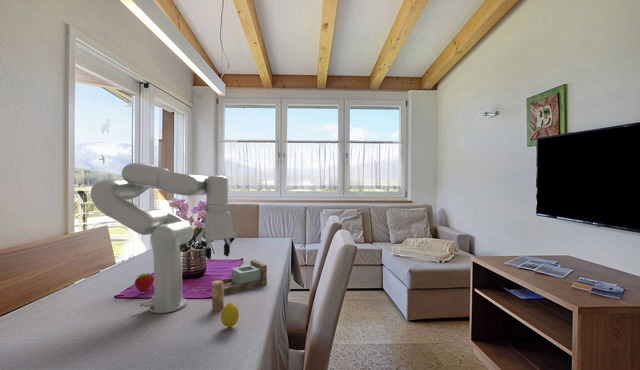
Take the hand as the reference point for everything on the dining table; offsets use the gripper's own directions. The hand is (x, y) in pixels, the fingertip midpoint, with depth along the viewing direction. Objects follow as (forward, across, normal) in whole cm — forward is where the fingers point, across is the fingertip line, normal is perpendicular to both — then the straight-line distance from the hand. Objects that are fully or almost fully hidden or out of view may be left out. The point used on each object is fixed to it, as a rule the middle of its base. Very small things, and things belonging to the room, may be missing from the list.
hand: (217, 256), depth 110 cm
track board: (+20, +17, +19) cm, 32 cm away
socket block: (+18, +20, +19) cm, 33 cm away
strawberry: (+20, -19, +36) cm, 45 cm away
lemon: (+20, -2, -17) cm, 26 cm away
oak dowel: (+20, 0, 0) cm, 20 cm away
